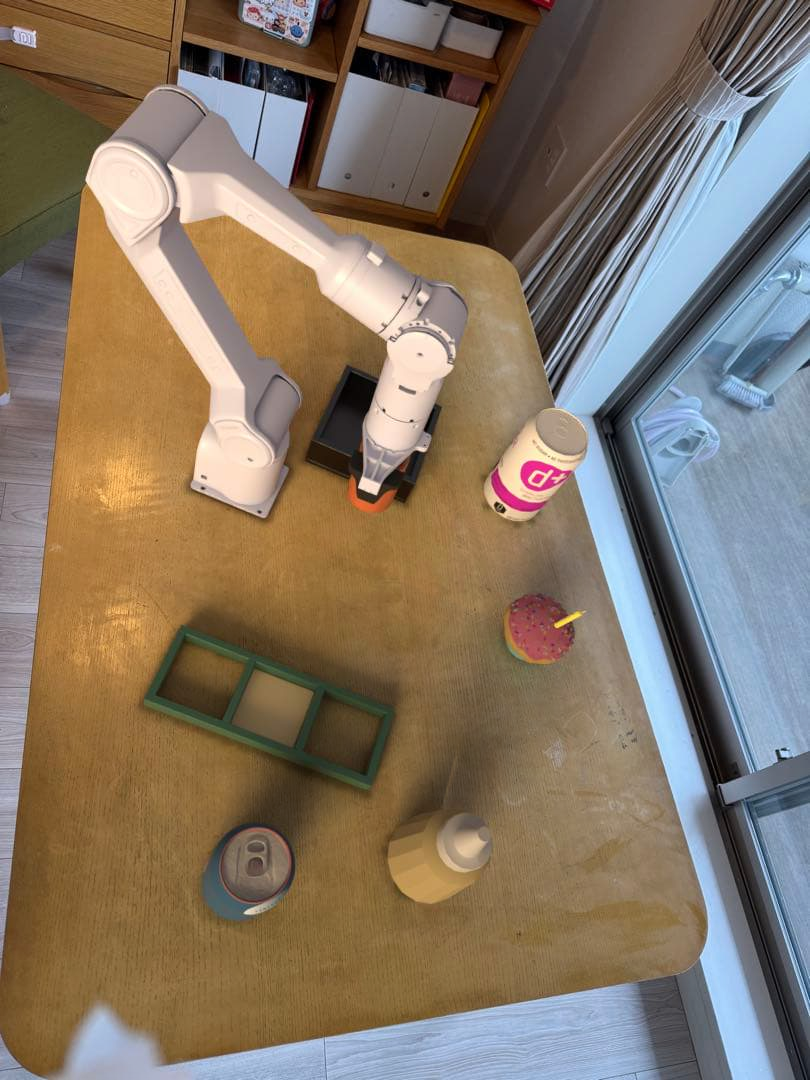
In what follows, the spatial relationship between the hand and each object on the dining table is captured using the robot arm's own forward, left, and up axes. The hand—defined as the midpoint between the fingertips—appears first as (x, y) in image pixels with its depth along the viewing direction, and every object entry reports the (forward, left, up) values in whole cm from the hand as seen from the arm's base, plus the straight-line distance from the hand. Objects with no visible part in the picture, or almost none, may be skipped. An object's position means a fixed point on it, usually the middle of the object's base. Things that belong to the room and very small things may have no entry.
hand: (374, 478), depth 85 cm
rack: (-1, -25, -10) cm, 27 cm away
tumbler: (0, 0, -3) cm, 3 cm away
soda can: (+2, -41, -11) cm, 43 cm away
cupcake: (+24, -6, -11) cm, 27 cm away
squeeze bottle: (+18, -34, -11) cm, 40 cm away
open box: (-2, +13, -10) cm, 17 cm away
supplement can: (+18, +14, -11) cm, 25 cm away
